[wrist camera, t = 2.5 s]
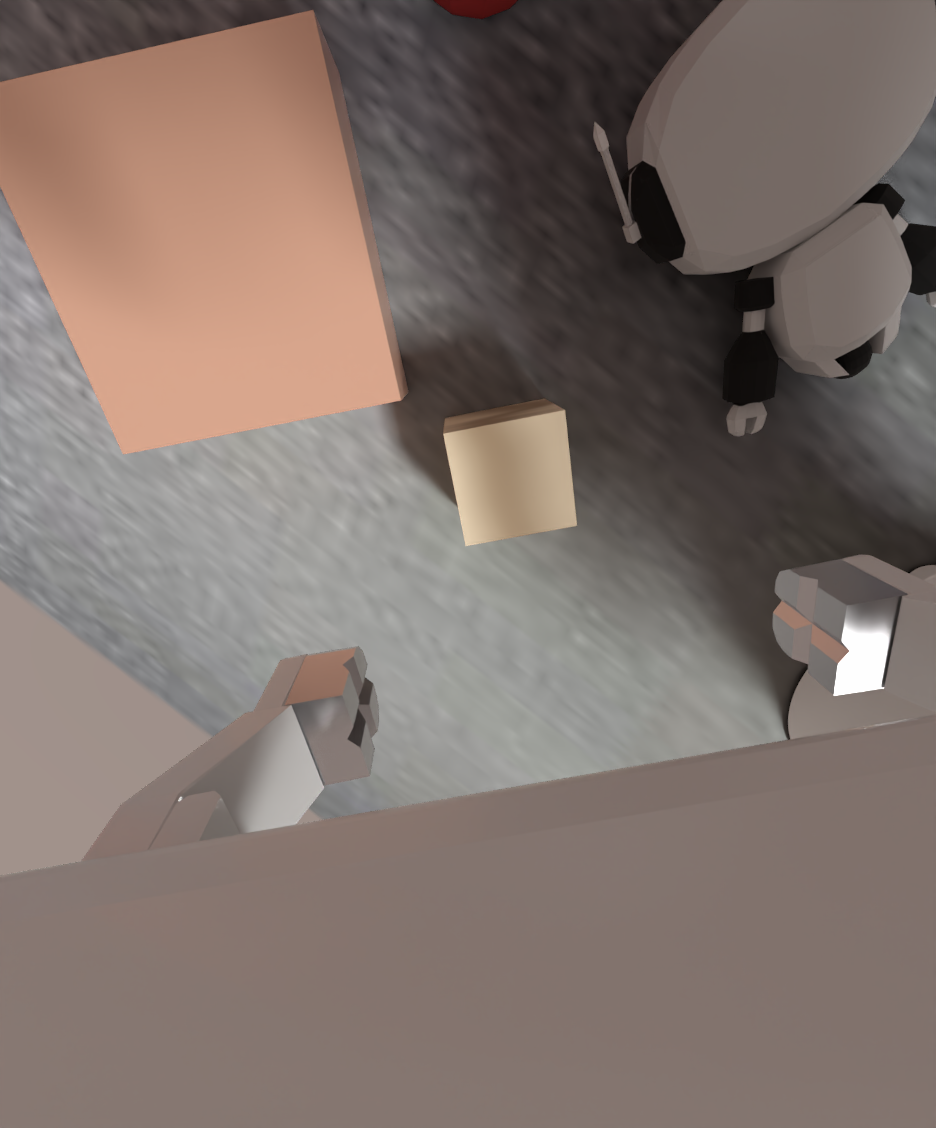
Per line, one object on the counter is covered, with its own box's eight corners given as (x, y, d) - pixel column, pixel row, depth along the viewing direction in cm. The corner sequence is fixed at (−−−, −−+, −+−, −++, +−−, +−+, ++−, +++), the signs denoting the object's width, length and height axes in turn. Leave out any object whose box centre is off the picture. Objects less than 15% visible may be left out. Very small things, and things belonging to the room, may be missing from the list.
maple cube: (544, 398, 25) (564, 410, 20) (555, 494, 27) (576, 525, 22) (444, 417, 25) (443, 433, 20) (463, 512, 27) (465, 546, 22)
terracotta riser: (339, 72, 19) (313, 9, 16) (408, 392, 24) (401, 400, 21) (47, 138, 20) (-44, 92, 16) (171, 438, 25) (123, 454, 21)
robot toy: (930, 289, 24) (849, -101, 18) (1031, 285, 20) (971, -219, 14) (698, 439, 27) (557, 143, 21) (747, 463, 23) (590, 103, 16)
